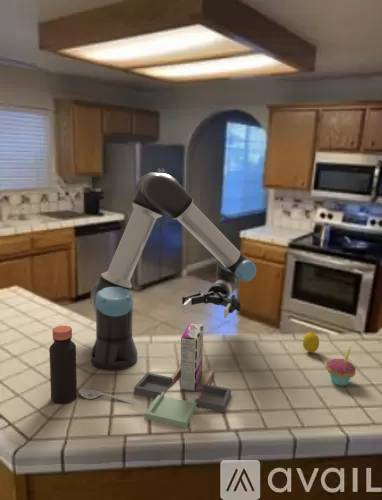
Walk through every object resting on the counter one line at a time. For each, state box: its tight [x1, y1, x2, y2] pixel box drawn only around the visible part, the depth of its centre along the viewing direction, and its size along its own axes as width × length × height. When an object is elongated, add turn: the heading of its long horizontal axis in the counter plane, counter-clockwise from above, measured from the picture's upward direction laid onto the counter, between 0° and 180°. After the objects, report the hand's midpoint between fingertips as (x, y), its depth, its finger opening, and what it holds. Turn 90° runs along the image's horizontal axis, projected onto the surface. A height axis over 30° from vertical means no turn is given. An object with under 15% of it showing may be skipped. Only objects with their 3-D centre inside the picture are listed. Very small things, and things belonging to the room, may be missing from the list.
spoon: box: [78, 388, 142, 406], centre depth 109 cm, size 4×21×2 cm, turn 78°
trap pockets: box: [133, 372, 232, 414], centre depth 112 cm, size 26×9×2 cm, turn 72°
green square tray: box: [144, 392, 198, 429], centre depth 104 cm, size 11×11×2 cm
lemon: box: [302, 331, 320, 354], centre depth 141 cm, size 6×6×8 cm
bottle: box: [48, 325, 78, 405], centre depth 107 cm, size 7×7×20 cm
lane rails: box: [171, 364, 215, 391], centre depth 121 cm, size 11×10×2 cm
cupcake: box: [325, 346, 357, 386], centre depth 121 cm, size 9×8×12 cm
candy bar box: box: [179, 322, 204, 392], centre depth 118 cm, size 11×5×16 cm, turn 168°
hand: (204, 311), depth 127 cm, fingers open, 13 cm apart
